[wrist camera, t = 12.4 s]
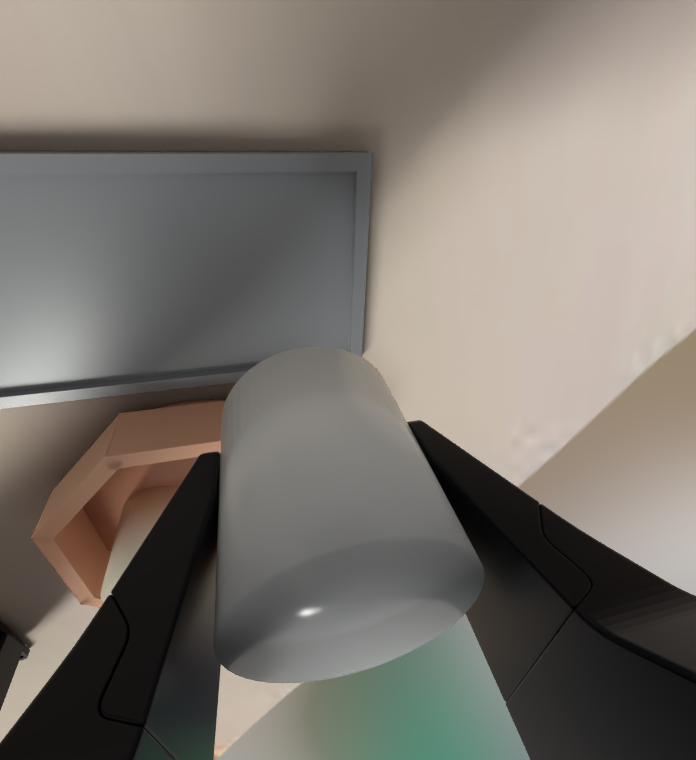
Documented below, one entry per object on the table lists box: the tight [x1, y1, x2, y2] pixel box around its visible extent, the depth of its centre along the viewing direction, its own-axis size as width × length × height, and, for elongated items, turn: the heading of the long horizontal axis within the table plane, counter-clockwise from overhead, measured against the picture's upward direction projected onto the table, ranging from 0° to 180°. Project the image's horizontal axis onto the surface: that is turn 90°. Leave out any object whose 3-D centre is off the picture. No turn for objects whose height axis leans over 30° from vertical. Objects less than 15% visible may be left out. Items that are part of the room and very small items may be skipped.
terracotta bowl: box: [31, 399, 226, 607], centre depth 24 cm, size 16×16×4 cm
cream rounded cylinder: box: [100, 486, 179, 603], centre depth 22 cm, size 4×4×5 cm
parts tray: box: [0, 151, 373, 409], centre depth 17 cm, size 18×10×1 cm, turn 88°
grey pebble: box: [214, 346, 485, 683], centre depth 8 cm, size 4×4×5 cm
